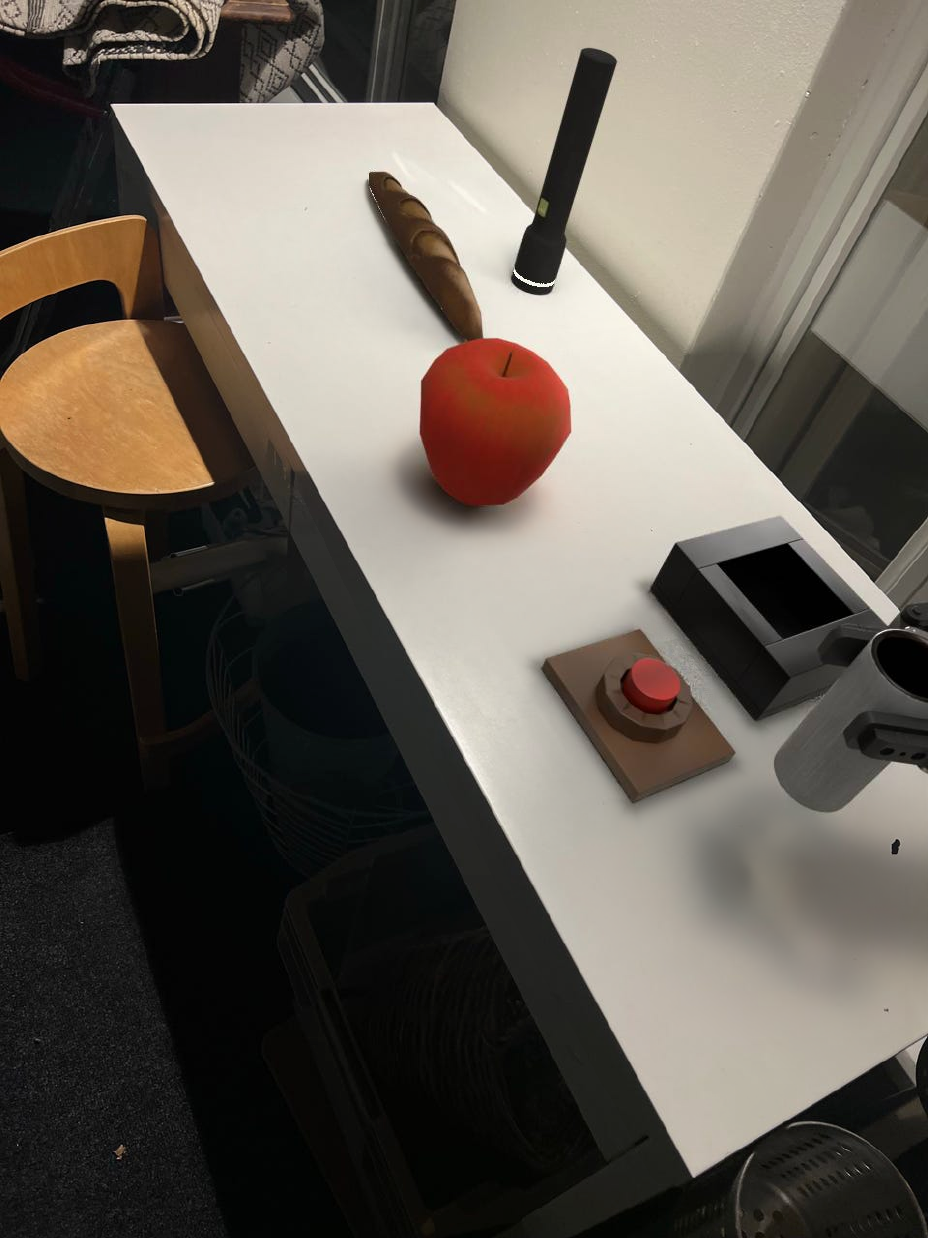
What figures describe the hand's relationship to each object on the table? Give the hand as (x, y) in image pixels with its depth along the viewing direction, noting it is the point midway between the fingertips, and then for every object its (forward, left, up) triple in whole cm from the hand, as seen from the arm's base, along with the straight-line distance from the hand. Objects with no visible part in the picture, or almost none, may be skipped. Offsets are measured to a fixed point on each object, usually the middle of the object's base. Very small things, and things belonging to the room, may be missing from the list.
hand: (840, 685), depth 44 cm
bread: (+72, -17, -20) cm, 77 cm away
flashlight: (+66, -29, -20) cm, 75 cm away
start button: (+11, -4, -17) cm, 21 cm away
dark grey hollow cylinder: (-1, -2, -8) cm, 9 cm away
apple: (+36, -4, -20) cm, 41 cm away
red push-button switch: (+11, -4, -20) cm, 23 cm away
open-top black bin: (+14, -19, -20) cm, 31 cm away
